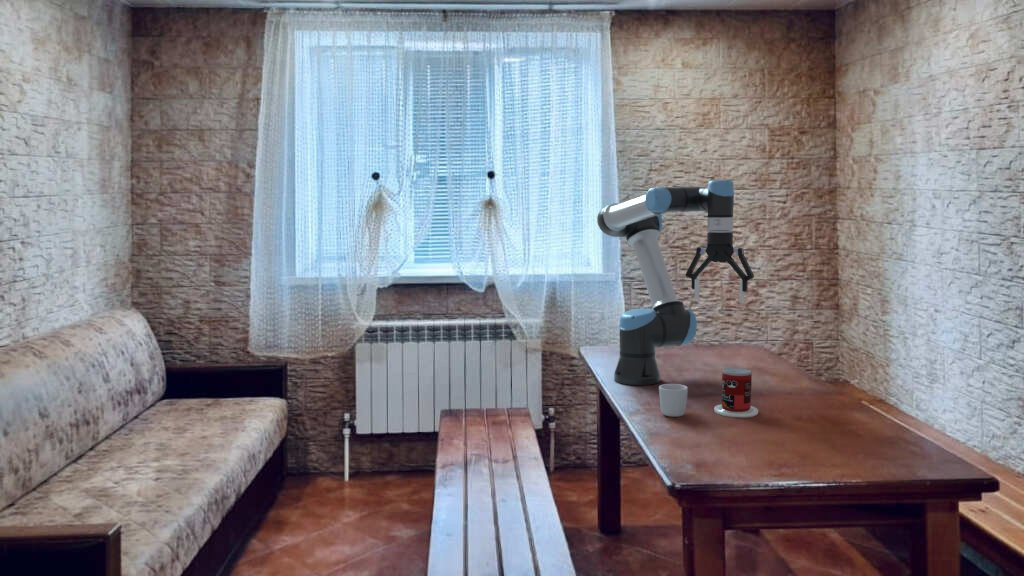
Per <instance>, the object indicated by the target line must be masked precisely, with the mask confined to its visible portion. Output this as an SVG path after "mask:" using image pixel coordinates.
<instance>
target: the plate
mask: <svg viewBox="0 0 1024 576" xmlns="http://www.w3.org/2000/svg"><path fill="white" fill-rule="evenodd" d="M713 410H714V413H715V414H717V415H720V416H723V417H728V418H738V419H739V418H744V419H745V418H752V417H756V416H757V415H759V408H757V407H755V406H753V405H751V407H750V410H748V411H745V412H733V411H727V410H725V409H723V408H722V403H721V404H717V405H715V406H714V409H713Z"/></svg>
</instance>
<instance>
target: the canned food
mask: <svg viewBox="0 0 1024 576" xmlns="http://www.w3.org/2000/svg"><path fill="white" fill-rule="evenodd" d="M721 373H722V374H721V376H722V377H721V404H722V408H723V409H725V410H727V411H733V412H745V411H748V410H750V407H751V406H752V403H751V401H752V400H751V399H752V376H753V375H752V374H753V373H752V370H750V369H748V368H743V367H726V368H724V369H722V372H721Z"/></svg>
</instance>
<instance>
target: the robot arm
mask: <svg viewBox="0 0 1024 576" xmlns="http://www.w3.org/2000/svg"><path fill="white" fill-rule="evenodd" d="M707 183H708V184H707V186H685V187H684V186H676V187H664V186H657V187H651V188H649V189H648V191H647V192H646V193H645V194H643V195H641V196H638V197H635V198H632V199H630V200H627V201H624V202H621V203H618V202H613V203H609V204H607V205H604V206H603V207H602V208H600V210H599V212H598V214H597V217H596V219H597V221H596V222H597V226H598V228H599V230H600V231H602V233H604V234H605V235H607V236H610V237H613V238H622V237H623V238H626V243H627V244H628V246H631V247H633V250H634V252H635V255H636V259H637V262H638V265H639V267H640V268H639V269H640V271H641V274H642V277H643V280H644V284H645V287H646V289H647V290H646V291H647V294H648V296H649V300H650V302H651V308H648V307H647V308H645V307H644V308H634V309H629V310H627V311H624V312H623V313H622V314H621V315H620V317H619V326H618V329H619V358H618V361H617V364H616V366H615V370H614V375H613V377H614V378H613V380H614V381H615V383H617V384H618V383H619V384H623V385H629V386H630V385H632V386H650V385H655V384H658V383H660V382H661V373H660V369H659V366H658V363H657V359H656V348H665V347H680V346H684V345H688V344H690V343H692V341H693V340H694V338H695V336H696V334H697V330H698V329H697V328H698V322H697V318H696V317H697V316H696V314H695V313H694V311H692V310H690V309H686V307H685V305H684V302H683V301H682V300H680V299H678V298H677V295H676V292H675V289H674V286H673V283H672V280H671V278H670V274H669V270H668V267H667V265H666V261H665V258H664V255H663V253H662V249H661V247H660V243H659V240H658V239H659V238H660V235H661V231H662V229H663V217H662V215H663V214H667V213H675V212H679V213H681V212H682V213H683V212H707V231H708V232H707V235H706V240H707V241H706V247H702V246H698V247H696V251H695V255H694V257H693V259H692V261H691V262H690V265H689V266H688V268H687V270H686V273H685V277H687V278H690V279H691V289H692V290H694V301H699V300H700V278H698V277H699V276H700V274H701V273H702V272H703V271H704V270H705V269H706V268H707V266H708V265H709V264H710V263H712V262H713V263H728V264H729V266H730V267H731V268H732V269H733V270H734V272H735V273H736V274H737V275H738V277H739V278H740V279H741V280H740V281H739V293H738V295H739V298H738V300H739V304H742V303H744V301H745V292H747V291H748V287H749V286H748V285H749V283H748V281H749V280H752V279H755V275H754V272H753V271H752V268H751V266H750V264H749V262H748V260H747V258H746V256H745V250H744V248H743V247H739V248H734V246H733V244H734V241H733V240H734V238H733V237H734V232H732V231H733V230H734V205H735V203H734V201H735V199H734V198H735V190H734V186H735V185H734V182H733V180H729V179H717V180H716V179H714V180H709V181H708V182H707ZM704 253H706V254H707V257H706V258H705V260H704V261H703V262H702V263H701V265H700V266H699V267H698V268H697V269H696V270H695V268H696V267H697V265H698V262H699V260H700V259H701V257H702V255H704ZM734 253H735V255H736V256H738V259H739V261H740V263H741V265H742V267H743V269H742V268H741V267H740V266H739V264H738V263H737V262H736V261H735V259H734V258H733V255H734ZM694 270H695V271H694ZM743 270H744V271H745V272H744V271H743Z"/></svg>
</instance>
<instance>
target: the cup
mask: <svg viewBox="0 0 1024 576" xmlns="http://www.w3.org/2000/svg"><path fill="white" fill-rule="evenodd" d="M658 393H659V404H660V411H661V413H662V415H664V416H666V417H671V418H673V417H674V418H677V417H682V416H685V415H684V414H685V413H686V408H687V400H688V393H689V387H688V386H686V385H684V384H680V383H664V384H661V385H659V386H658Z"/></svg>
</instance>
